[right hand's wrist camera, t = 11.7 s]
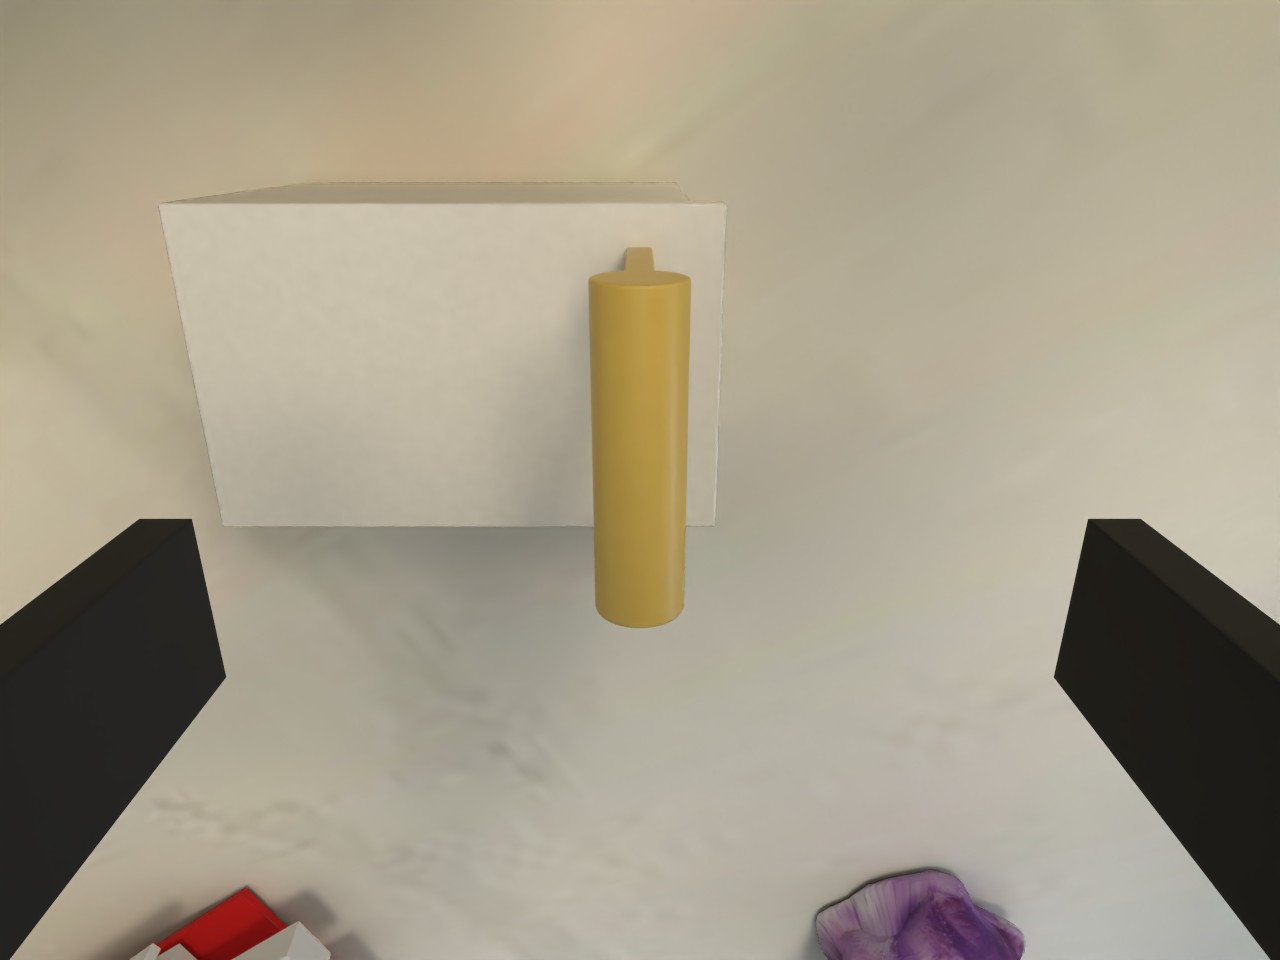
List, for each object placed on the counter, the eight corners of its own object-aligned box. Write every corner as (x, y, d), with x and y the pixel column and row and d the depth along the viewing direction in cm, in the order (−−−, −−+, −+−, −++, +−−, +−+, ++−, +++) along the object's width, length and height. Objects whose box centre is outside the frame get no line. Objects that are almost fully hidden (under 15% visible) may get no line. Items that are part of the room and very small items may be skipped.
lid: (724, 201, 23) (766, 231, 16) (713, 516, 27) (742, 666, 19) (171, 201, 23) (-55, 231, 16) (234, 517, 27) (73, 667, 19)
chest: (676, 182, 33) (691, 200, 24) (673, 418, 37) (685, 516, 27) (306, 182, 33) (172, 200, 24) (338, 418, 37) (234, 516, 27)
